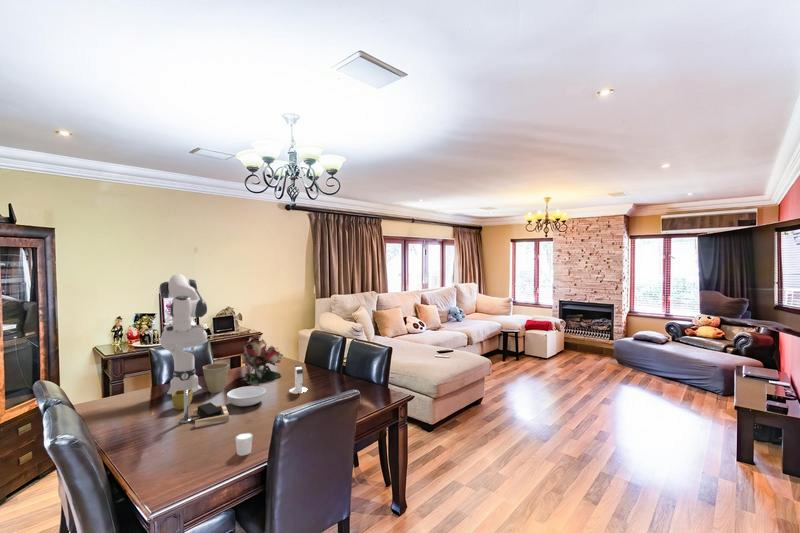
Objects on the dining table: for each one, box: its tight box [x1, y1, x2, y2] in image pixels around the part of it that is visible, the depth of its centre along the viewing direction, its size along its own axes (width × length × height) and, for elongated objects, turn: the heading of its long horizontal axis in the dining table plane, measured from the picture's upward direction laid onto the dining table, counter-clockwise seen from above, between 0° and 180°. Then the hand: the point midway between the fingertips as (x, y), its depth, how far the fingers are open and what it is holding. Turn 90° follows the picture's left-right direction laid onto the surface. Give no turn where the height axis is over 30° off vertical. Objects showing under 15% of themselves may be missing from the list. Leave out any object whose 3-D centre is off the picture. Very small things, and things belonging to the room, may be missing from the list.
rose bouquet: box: [240, 334, 284, 386], centre depth 270 cm, size 26×29×30 cm
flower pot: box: [171, 389, 194, 411], centre depth 213 cm, size 9×9×9 cm
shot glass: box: [235, 432, 254, 456], centre depth 165 cm, size 7×7×7 cm
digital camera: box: [197, 402, 222, 419], centre depth 200 cm, size 10×5×7 cm
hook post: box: [178, 390, 194, 425], centre depth 194 cm, size 10×6×16 cm, turn 31°
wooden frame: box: [192, 403, 230, 428], centre depth 200 cm, size 18×16×3 cm
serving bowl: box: [226, 385, 267, 407], centre depth 221 cm, size 21×21×7 cm
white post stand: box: [289, 364, 309, 395], centre depth 242 cm, size 12×11×15 cm
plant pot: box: [202, 362, 230, 394], centre depth 241 cm, size 15×15×16 cm
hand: (182, 351), depth 208 cm, fingers open, 8 cm apart
